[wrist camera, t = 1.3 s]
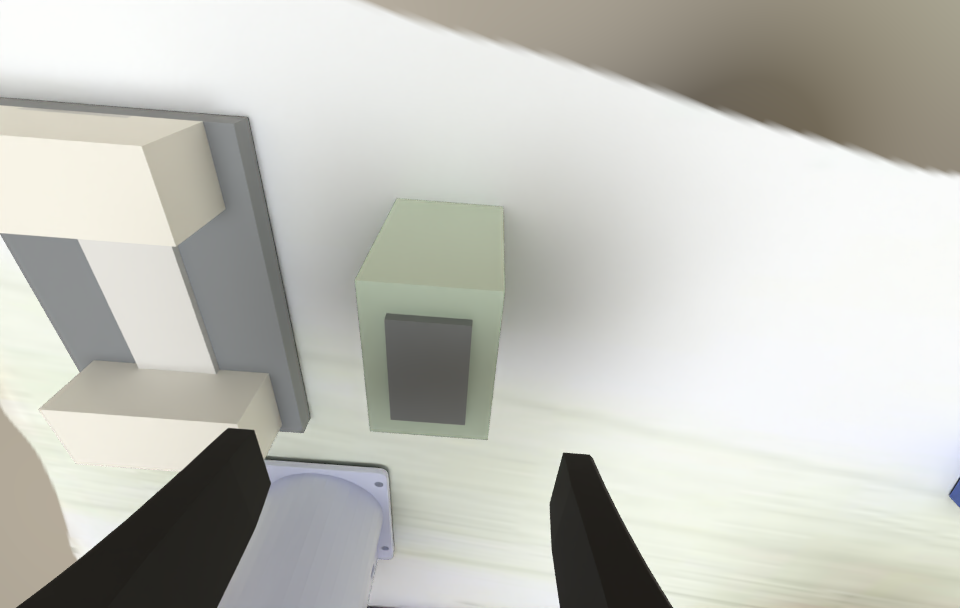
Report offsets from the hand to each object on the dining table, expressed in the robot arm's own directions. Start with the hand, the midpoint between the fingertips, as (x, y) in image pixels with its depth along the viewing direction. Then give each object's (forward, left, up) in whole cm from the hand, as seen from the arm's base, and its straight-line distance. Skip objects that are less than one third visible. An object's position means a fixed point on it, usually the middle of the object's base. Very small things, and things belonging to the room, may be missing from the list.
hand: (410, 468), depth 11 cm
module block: (0, 0, -10) cm, 10 cm away
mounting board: (-2, +12, -9) cm, 15 cm away
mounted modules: (-2, +12, -8) cm, 15 cm away
